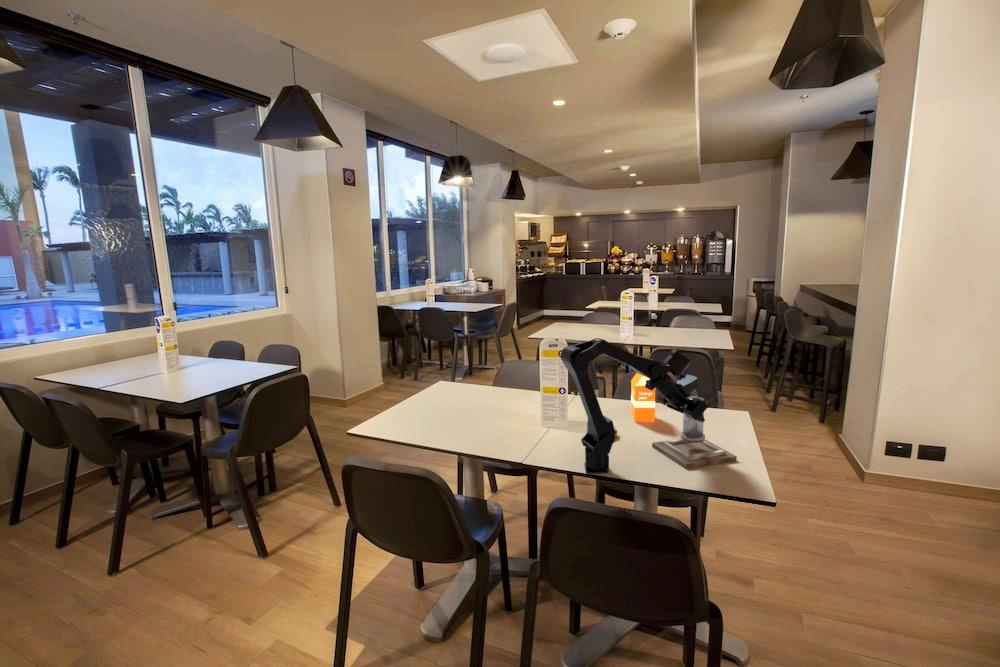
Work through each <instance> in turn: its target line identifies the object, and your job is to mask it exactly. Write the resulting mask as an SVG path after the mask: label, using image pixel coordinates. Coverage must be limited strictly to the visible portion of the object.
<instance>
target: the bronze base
mask: <svg viewBox="0 0 1000 667" xmlns="http://www.w3.org/2000/svg"><path fill="white" fill-rule="evenodd" d="M651 447H652V448H653V449H654V448H655V449H654V450H656V451H657V450H658V451H657V452H659V453H661V454H662V453H663V454H662V455H663V456H665V455H666V456H665V457H667V458H669V459H670V460H672V462H674V463H676V464H677V463H678V464H677V465H679V466H680V465H681V467H682V468H683V467H684V469H685V468H686V469H685V470H688V469H687V468H689V469H695V468H701V466H702V467H706V466H707V467H708V466H714V465H719V464H725V463H726V464H727V463H731V462H737V461H738V460H737V458H738V457H737V455H735V454H733V453H731V452H729V451H727V450H725V449H724V448H722V447H721V446H718V445H716V444H714V443H712V442H710V441H709V440H706V439H705V441H703V442H688V441H685V440H683V439H682V438H676V439H669V440H662V441H655V442H652V443H651Z"/></svg>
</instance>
